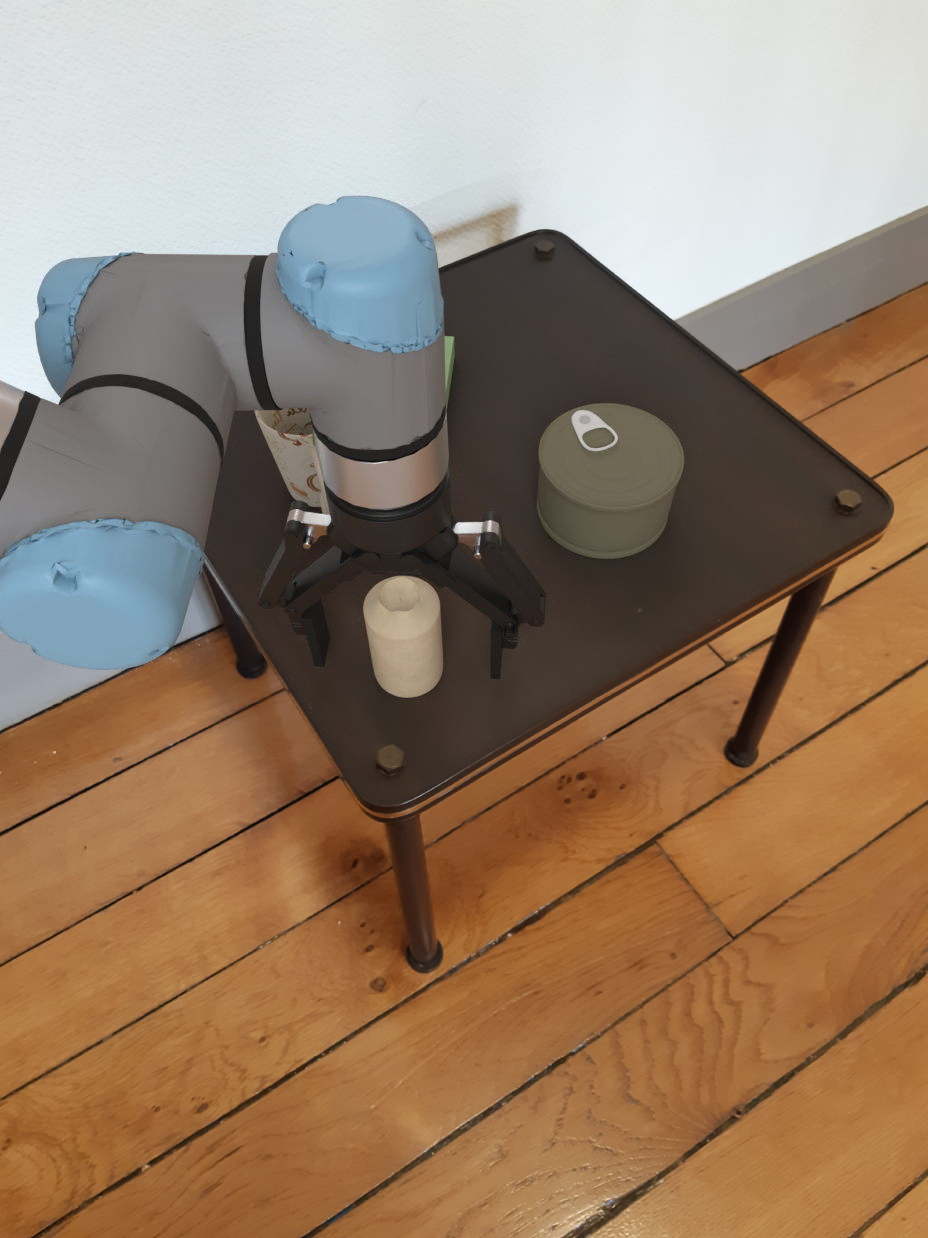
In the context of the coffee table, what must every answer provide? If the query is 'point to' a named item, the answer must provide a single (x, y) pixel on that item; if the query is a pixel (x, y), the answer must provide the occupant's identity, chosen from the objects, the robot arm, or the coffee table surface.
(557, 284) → the coffee table surface
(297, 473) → the mug
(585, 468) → the can
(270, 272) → the robot arm
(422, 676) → the candle
